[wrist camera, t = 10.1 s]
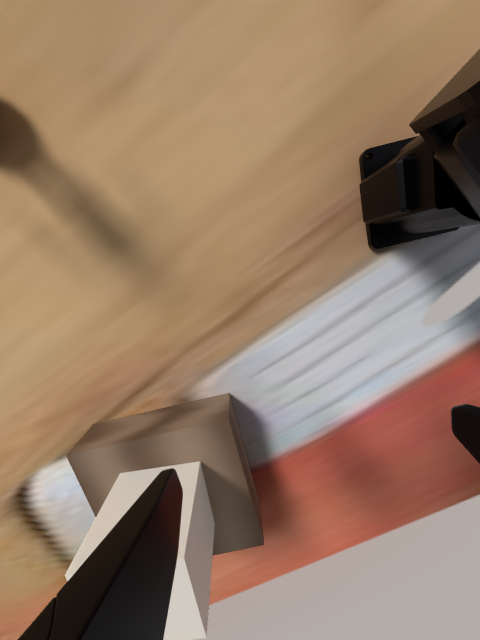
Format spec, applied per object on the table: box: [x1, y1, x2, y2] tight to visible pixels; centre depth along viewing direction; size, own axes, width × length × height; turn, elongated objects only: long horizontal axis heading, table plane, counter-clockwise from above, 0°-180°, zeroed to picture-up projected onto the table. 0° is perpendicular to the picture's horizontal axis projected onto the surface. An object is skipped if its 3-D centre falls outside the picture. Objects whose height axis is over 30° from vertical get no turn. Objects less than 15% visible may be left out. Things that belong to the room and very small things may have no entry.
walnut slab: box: [66, 393, 264, 555], centre depth 21 cm, size 12×12×4 cm
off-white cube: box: [65, 461, 215, 640], centre depth 16 cm, size 6×6×6 cm
